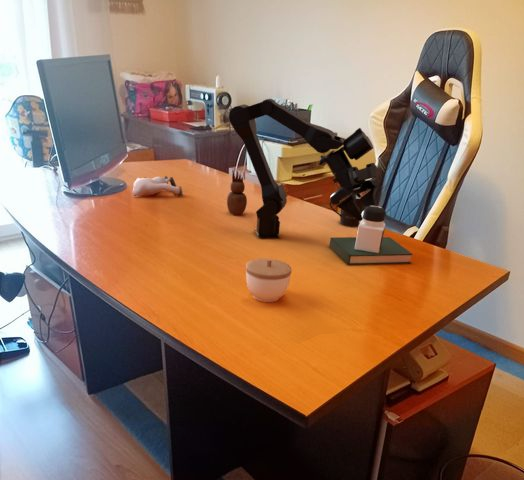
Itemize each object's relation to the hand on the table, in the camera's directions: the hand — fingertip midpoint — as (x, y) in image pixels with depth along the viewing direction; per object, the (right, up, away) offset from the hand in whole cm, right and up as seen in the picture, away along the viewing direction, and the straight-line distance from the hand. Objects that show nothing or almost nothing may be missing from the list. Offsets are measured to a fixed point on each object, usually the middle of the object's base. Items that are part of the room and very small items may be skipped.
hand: (369, 217), depth 149 cm
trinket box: (-30, -25, -24) cm, 46 cm away
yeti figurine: (-73, +22, +49) cm, 91 cm away
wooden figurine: (-40, +10, +34) cm, 53 cm away
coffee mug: (-2, +7, +34) cm, 35 cm away
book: (+1, -9, +7) cm, 12 cm away
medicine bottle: (0, -8, +3) cm, 9 cm away
